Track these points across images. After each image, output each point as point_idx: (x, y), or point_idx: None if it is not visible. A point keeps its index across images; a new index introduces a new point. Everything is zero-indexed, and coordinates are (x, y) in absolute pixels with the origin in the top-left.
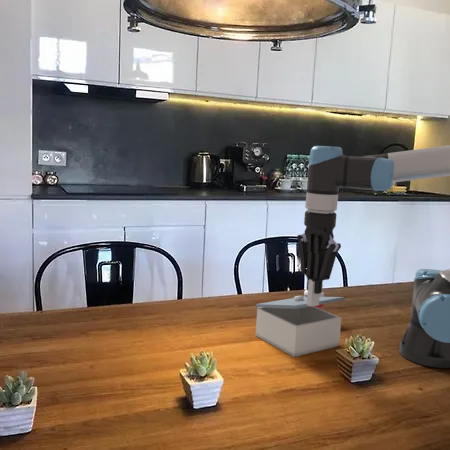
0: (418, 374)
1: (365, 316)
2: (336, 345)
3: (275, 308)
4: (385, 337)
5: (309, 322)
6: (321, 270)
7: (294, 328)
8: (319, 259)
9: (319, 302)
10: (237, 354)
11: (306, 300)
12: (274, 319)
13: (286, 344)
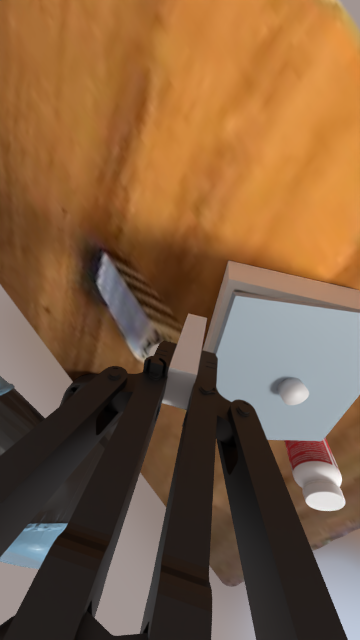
0: (76, 347)
1: None
2: None
3: None
4: (173, 423)
5: None
6: (93, 405)
7: (235, 278)
8: (89, 481)
9: None
10: (341, 159)
11: (266, 389)
12: (316, 296)
13: (254, 270)
